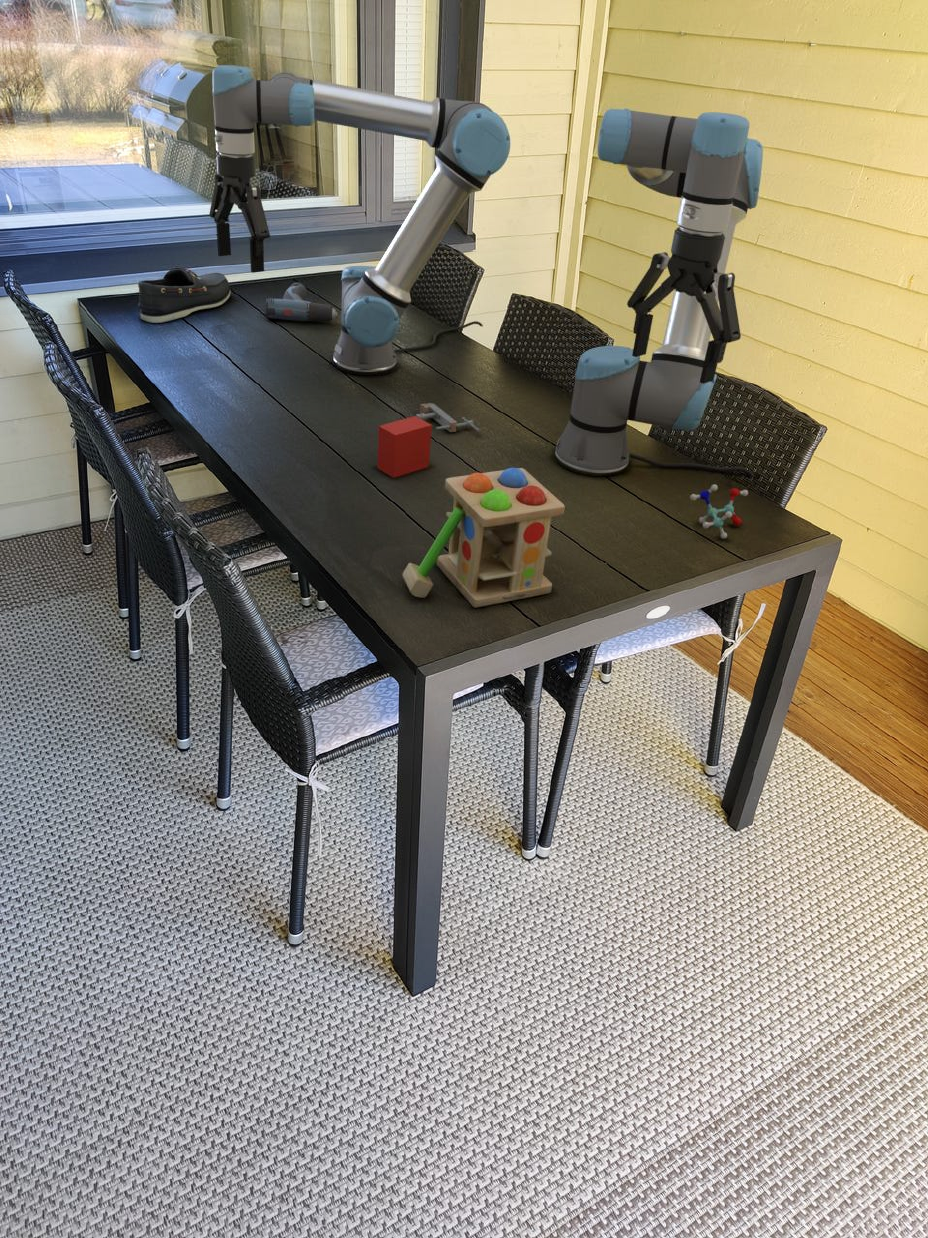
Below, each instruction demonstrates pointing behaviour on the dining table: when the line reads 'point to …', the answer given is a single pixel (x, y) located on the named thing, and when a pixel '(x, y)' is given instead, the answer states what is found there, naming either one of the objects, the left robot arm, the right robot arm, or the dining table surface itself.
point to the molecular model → (713, 512)
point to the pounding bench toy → (492, 538)
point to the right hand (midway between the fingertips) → (671, 368)
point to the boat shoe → (180, 294)
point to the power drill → (298, 307)
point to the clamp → (443, 418)
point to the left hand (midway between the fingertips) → (240, 263)
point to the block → (404, 446)
